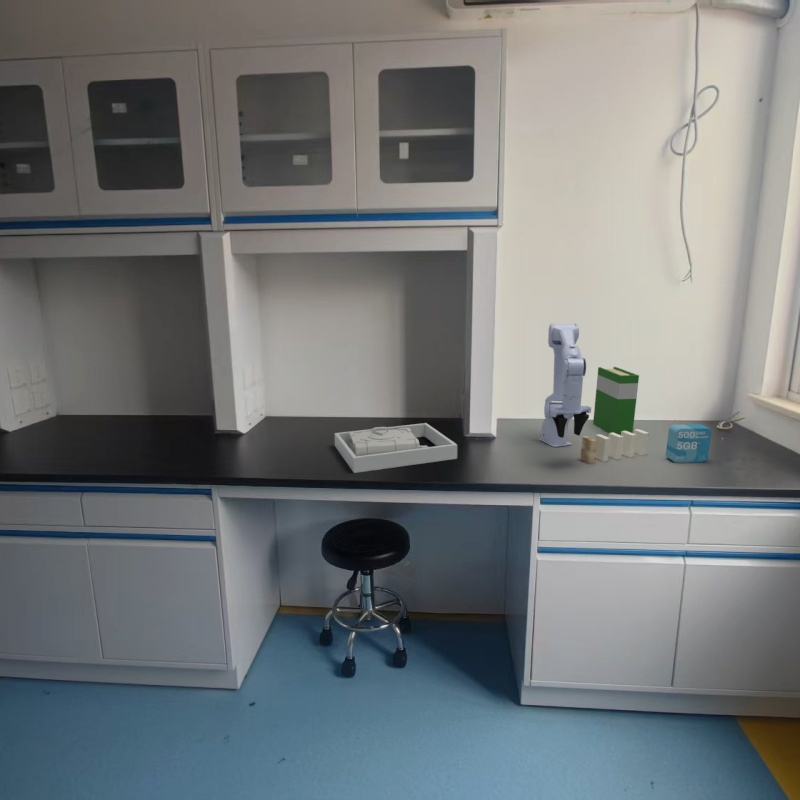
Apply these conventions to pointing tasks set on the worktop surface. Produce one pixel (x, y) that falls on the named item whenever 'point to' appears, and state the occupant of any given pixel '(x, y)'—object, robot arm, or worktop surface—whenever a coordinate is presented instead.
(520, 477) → the worktop surface
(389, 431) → the grey case
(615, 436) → the domino
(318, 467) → the worktop surface
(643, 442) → the domino
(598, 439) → the domino
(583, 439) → the domino
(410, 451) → the tray
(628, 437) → the domino
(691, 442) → the data package
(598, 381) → the hardback book
